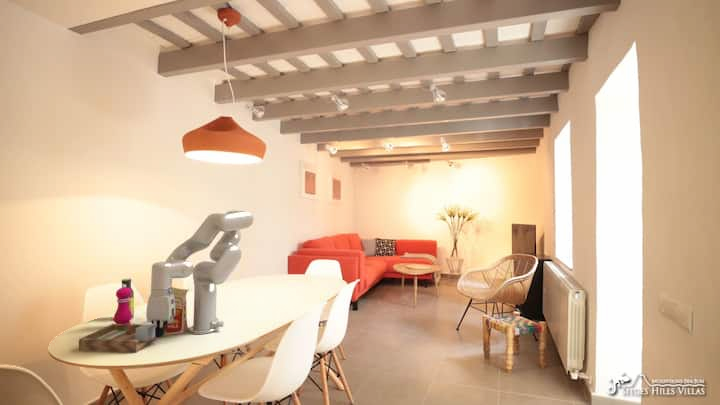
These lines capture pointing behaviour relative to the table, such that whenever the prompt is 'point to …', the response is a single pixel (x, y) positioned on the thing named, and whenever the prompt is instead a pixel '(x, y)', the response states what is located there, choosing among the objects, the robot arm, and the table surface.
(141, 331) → the block
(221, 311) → the table surface
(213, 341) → the table surface
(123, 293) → the pepper mill
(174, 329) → the paper food bag
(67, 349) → the table surface
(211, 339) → the table surface
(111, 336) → the brown wooden tray
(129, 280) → the sauce bottle
